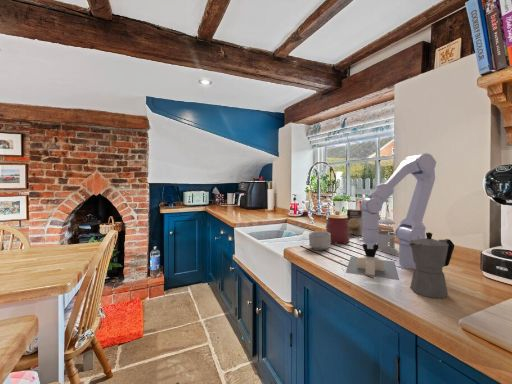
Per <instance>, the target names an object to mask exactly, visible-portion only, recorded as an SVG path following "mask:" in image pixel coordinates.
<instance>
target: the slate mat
mask: <svg viewBox="0 0 512 384" xmlns="http://www.w3.org/2000/svg"><path fill="white" fill-rule="evenodd" d="M357 257H358V256H350V258H349V261H348V264H347V268H346V270H345V273H346V274H354V275H360V276H367V277H374V278H381V279H388V280H395V281H400V277H399V274H398V270H397V266H396V262H395V261H394V260H385V259H384V271H378V270H375V275H368V274H366V269H363V268H357Z"/></svg>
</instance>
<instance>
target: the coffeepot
mask: <svg viewBox="0 0 512 384" xmlns="http://www.w3.org/2000/svg"><path fill="white" fill-rule="evenodd" d="M432 236H433V233H432V232H425V238H423V239H415V240H411V243H410V244H409V246H411V247H412V254H413V260H414V262H415V263H416V268H415V269H413V272H412V279H411V282H410V289H411V291H412V292H414V293H416V294H417V295H420V296H423V297H426V298H431V299H444V298H446V297H447V296H448V295H449V293H448V288H447V283H446V282H447V281H446V278H445V277H446V276H445V273H444V272H443V268H444V267H448V266H449V265H450V262H451V259H452V256H453V252H454V249H455V244H454V243H453V241H452V240H451V239H448V238H447V239H438V240H437V239H435V238H432Z"/></svg>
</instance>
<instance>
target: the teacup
mask: <svg viewBox="0 0 512 384" xmlns="http://www.w3.org/2000/svg"><path fill="white" fill-rule="evenodd" d="M330 235H331V234H330V233H328V232H326V231H319V230H318V231H316V230H315V231H313V232H312V231H311V232H308V240H309V243H308V244H309V246H310V247H311V248H312V249H313V250H315V249H316V250H317V251H326V250H327V249H328V248H329V247H331V237H330Z"/></svg>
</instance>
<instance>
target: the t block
mask: <svg viewBox="0 0 512 384" xmlns="http://www.w3.org/2000/svg"><path fill="white" fill-rule="evenodd" d="M356 257H357V268H363V269H366V274H368V275H375V270H378V271H384V260H385V259H384V258H383V257H376V256H375V257H367V256H366V255H357V256H356Z"/></svg>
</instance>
